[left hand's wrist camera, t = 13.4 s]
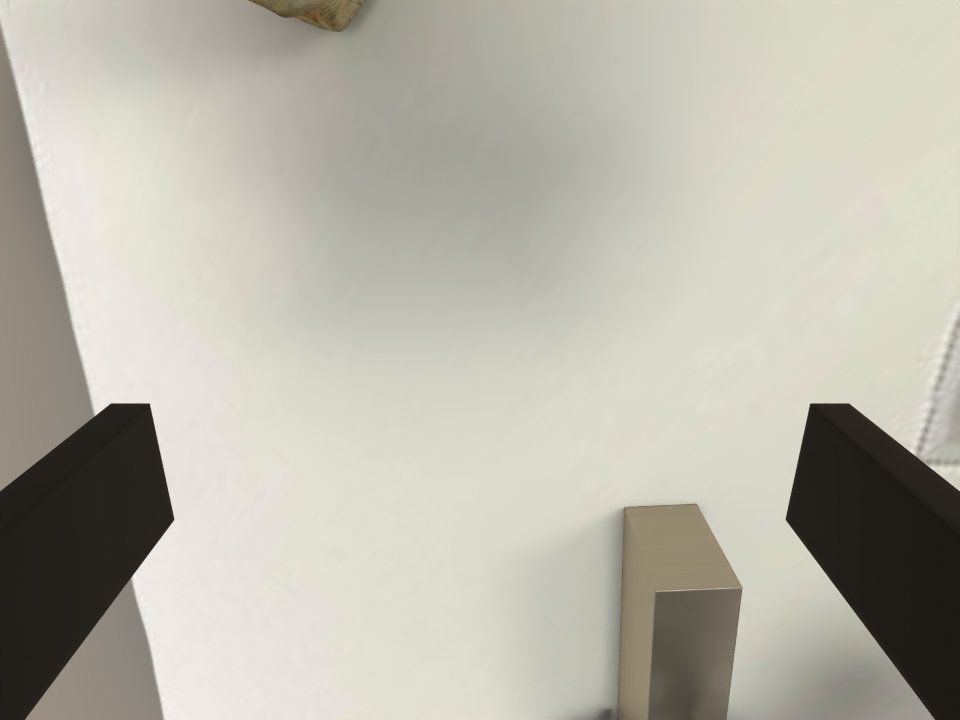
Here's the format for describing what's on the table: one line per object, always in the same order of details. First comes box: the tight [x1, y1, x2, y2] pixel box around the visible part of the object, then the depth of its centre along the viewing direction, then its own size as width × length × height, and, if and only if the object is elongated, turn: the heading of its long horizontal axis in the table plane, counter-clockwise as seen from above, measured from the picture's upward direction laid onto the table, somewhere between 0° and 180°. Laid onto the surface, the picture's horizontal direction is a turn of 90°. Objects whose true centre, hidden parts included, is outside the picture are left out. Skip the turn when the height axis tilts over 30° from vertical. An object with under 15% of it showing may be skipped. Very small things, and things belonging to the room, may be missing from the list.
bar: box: [617, 504, 742, 720], centre depth 45 cm, size 25×5×8 cm, turn 3°
